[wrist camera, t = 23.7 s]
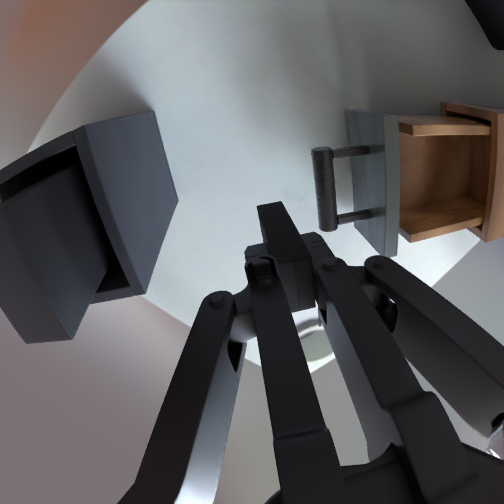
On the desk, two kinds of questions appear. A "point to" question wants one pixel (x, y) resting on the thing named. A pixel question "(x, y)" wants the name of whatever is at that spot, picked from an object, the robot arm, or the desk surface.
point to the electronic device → (490, 19)
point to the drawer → (407, 177)
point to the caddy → (113, 191)
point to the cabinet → (500, 177)
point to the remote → (51, 255)
